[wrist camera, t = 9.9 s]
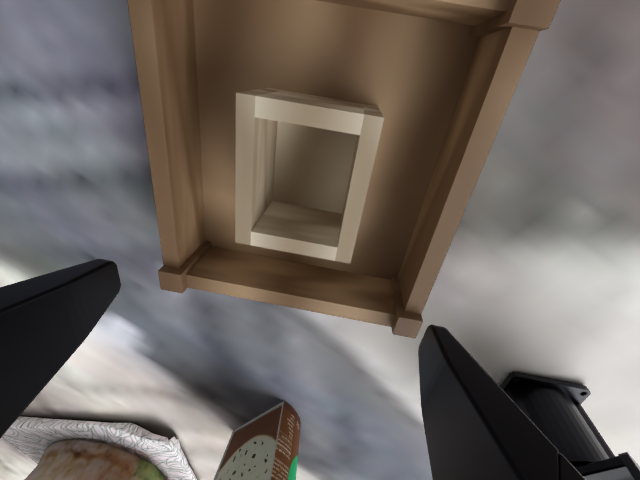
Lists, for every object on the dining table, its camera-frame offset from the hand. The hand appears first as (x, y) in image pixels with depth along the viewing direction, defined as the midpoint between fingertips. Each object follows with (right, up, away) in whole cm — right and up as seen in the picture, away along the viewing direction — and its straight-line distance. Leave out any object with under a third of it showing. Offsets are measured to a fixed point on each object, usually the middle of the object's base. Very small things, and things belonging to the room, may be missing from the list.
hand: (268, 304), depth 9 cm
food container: (-3, -20, +26) cm, 32 cm away
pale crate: (+1, +7, +9) cm, 12 cm away
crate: (+1, +7, +10) cm, 12 cm away
